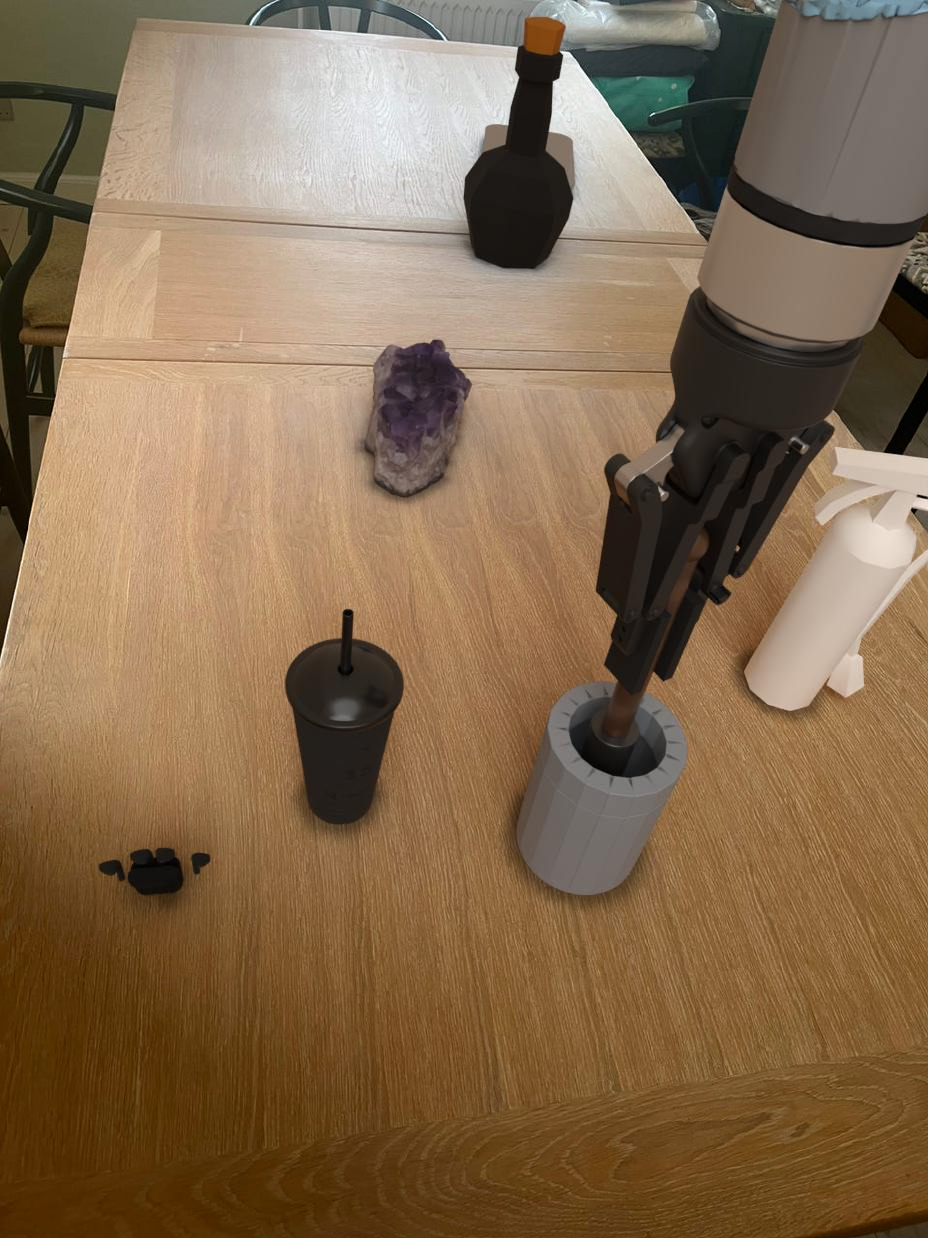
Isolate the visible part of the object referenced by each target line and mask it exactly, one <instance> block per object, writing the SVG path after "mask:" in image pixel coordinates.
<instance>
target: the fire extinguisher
mask: <svg viewBox="0 0 928 1238" xmlns="http://www.w3.org/2000/svg"><path fill="white" fill-rule="evenodd" d="M828 460H829V466H830V472H831V475H833V476H837V477H842V478H845V479H849V480H847V481H845V482H843V483H841V484H838V485H836V486H834V487H832V488H829V490H828V491H827V492H826V493H825V494H823V495H822V497H820V498H819V499H818V501H816V502H815V503H814V505H813V507H814V518H815V519H816V520H817V522H818V523H819V524H820V526H821V527H822V526H824V525H826V524H827V523H828V521H830V520H831V519H832V518H833V517H834V519H833V521H832V523H831V524H830V526H829V527H828V529H827V531H826V532H825V534H824V536H823V538H822V539H821V541H820V542H819V544H818V546H817V547H816V549H815V551H814V552H813V554H812V556H811V557H810V559H809V561H808V562H807V564H806V566H805V568H804V569H803V571H802V573H801V574H800V576H799V577H798V579H797V581H796V583H795V584H794V586H793V587H792V589H791V591H790V593H789V594H788V596H787V598H786V599H785V601H784V603H783V604H782V606H781V607H780V609H779V611H778V612H777V614H776V616H775V618H774V619H773V621H772V622H771V624H770V626H769V628H768V629H767V631H766V632H765V634H764V635H763V637H762V639H761V641H760V642H759V644H758V645H757V647H756V649H755V651H754V652H753V654H752V656H751V658H750V659H749V661H748V662H747V664H746V667H745V669H744V670H743V673H744V677H745V679H746V682H747V685H748V687H749V690H750V691H751V692H752V693H753V694H755V695H756V697H758V698H759V699H760V700H761V701H763V702H764V703H765V704H766V705H768V706H771V707H774V708H777V709H781V710H785V711H788V712H792V711H796V710H799V709H802V708H803V709H804V708H807V707H809V706H810V704H811V703H812V701H814V699H815V697H816V696H817V695H818V694H819V692H820V690H822V688H823V686H824V685H825V684H826V686H827V687H829V688H830V689H832V690H833V691H834V692H836V693H838V694H839V695H840V696H842V697H843V698H845V699H847V698H848V697H850V696H851V695H853V694H854V693H856V692H857V691H859V690H861V689H862V688H864V687H865V682H864V681H865V677H864V676H865V675H864V657H863V656H861V655H860V654H859V651H860V646H861V643H862V639H863V637H864V636H865V635H866V634H867V633H868V631H869V630H870V629H871V628H872V627H873V625H874V624H875V623H876V622H877V620H878V619H879V618H880V617H881V615H883V613H884V612H885V611H886V609H887V608H889V606H890V605H891V603H892V602H893V601H894V600H895V599H896V598H897V597H898V595H899V594H900V593H901V591H902V590H903V589H904V588H905V587H906V585H907V584H908V583H910V581H911V580H912V579H913V577H914V576H915V575H917V573H918V572H920V571H921V570H922V569H923V568H924V567H925V566H927V564H928V548H927V549H926V550H925V551H923V552H922V553H921V554H920V555H919V556H917V558H915V560H914V561H913V562H912V560H913V557H914V556H915V552H916V549H917V537H918V536H917V534H915V533H916V532H915V531H914V529H913V528H912V526H911V525H910V523H909V521H908V520H907V519H908V517H909V515H910V513H911V510H912V509H917V510H920V511H925V512H928V499H927V498H922V497H919V496H923V497H928V458H925V457H919V456H910V455H903V454H896V453H895V454H894V453H888V452H887V453H886V452H880V451H872V450H871V451H870V450H863V449H855V448H849V447H840V446H834V448H833V450H832V451H831V453H830V454H829V456H828ZM878 495H881V496H880V497H879V498H878V500H877V501H876V502H875V503H870V502H865V503H863V502H862V501H863V500H865V499H867V498H872V497H874V496H875V497H876V496H878ZM918 495H919V496H918ZM859 502H862V503H859ZM856 503H859V504H856Z"/></svg>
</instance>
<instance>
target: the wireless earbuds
mask: <svg viewBox="0 0 928 1238" xmlns="http://www.w3.org/2000/svg"><path fill="white" fill-rule="evenodd" d="M154 855H155V856H154ZM129 859H130V861H131V862H132V864H131V866H130V869H129V871H128V872H127V877H126V875H125V871H124V867H123V864H122V862H121V860H119V859H111V860H106V861H102V862H101V863H99V864H98V870H99V872H101V873H102V874H103V875H106V876H110V877H111V876H114V875H117V879H118V881H119V882H121V883H122V882H125V880H126V878H127V882H128V884H129V885H130V886H131V887H132V888H134V889H135V891H136V892H137V893H138V894H139V895H141V896H153V895H163V894H173V893H176V892H178V891H179V890H181V889H182V887H183V885H184V882H185V881H184V874H183V868H182V863H181V860H180V859H179V858H178V857H177V856H176V852H175V849H173V848H170V847H157V848H156V849H155V851H154V854H153V851H152V850H151V849H149V848H143V849H137V850H134V851H131V852H130V854H129ZM190 860H191V865H192V866H191V867H192V872H193V874H194V875H195V876H198V875H200V873H201V868H203V867H205V866H207V865H208V864H209V863H211V854H210V853H205V852H194V853H192V854H191V857H190Z"/></svg>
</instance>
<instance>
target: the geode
mask: <svg viewBox="0 0 928 1238" xmlns="http://www.w3.org/2000/svg"><path fill="white" fill-rule="evenodd" d="M446 349H447V348H446V344H445V342H444V341H443V340H442V339H439V338H438V339H432V340H431V341H430V342H426V341H425V342H424V341H423V342H417V343H415V344H412V345H410V346H407V347H404V348H403V347H401V346H398V345H396V344H388V345H387V346H386V348H384V349H383V351H381V353H380V355H379V356H378V357H377V358H376V361H374V362H373V367H372V372H373V385H372V391H373V396H372V399H373V405H372V410H371V413H370V415H369V416H370V417H369V425H368V429H367V434H366V437H365V439H364V449H365V450H366V451H368V452H369V453H370V454H372V455H373V457H374V463H373V478H374V483H375V484H376V485H378V486H379V487H381V488H382V489H384V490H385V491H386V492H388V493H390V494H391V495H395V496H396V495H397V496H399V497H401V498H408V497H410V496H414V495H417V494H418V493H421V491H424V490H426V489H428V488H429V487H431V485H433V484H436V483H437V482H438V481H440V480H441V479H442V478H443V477H444V475H445V472H446V468H447V466H448V464H449V462H450V455H451V450H452V447H453V445H454V444H456V439H457V431H458V428H459V422H460V421H461V420H462V418H463V415H464V408H465V402H466V401H467V399H468V398H469V394H470V391H471V389H472V386H473V383H472V381H471V380H470V378H467V376H466V375H465V373H464V372H463V371H462V370H461V369H460V368H459V367H456V366H455V364H454V363H453V361H452V359H451V358H450V356H451V354H450V352H449V351H446Z"/></svg>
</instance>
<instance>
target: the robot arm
mask: <svg viewBox="0 0 928 1238" xmlns="http://www.w3.org/2000/svg"><path fill="white" fill-rule="evenodd" d="M722 194H723V195H722V197H721V201H720V204H719V207H718V211H717V214H716V216H715V220H714V223H713V227H712V230H711V232H710V236H709V239H708V242H707V245H706V247H705V252H704V254H703V257H702V260H701V264H700V267H699V270H698V274H697V281H698V284H699V286H698V287H696V288H695V289H694V290H693V291H692V292H691V293H690V295H689V297H688V300H687V303H686V305H685V306H686V307H685V310H684V313H683V316H682V319H681V322H680V325H679V329H678V331H677V335H676V339H675V341H674V345H673V349H672V350H671V354H670V358H669V359H670V360H669V369H670V373H671V378H672V384H673V390H674V401H673V403H672V405H671V407H670V409H669V410H668V412H667V413H666V415H665V416H664V418H663V419H662V420H661V422H660V423H659V425H658V427H657V428H656V429H657V430H656V433H655V443H654V444H653V445H651V446H650V447H648V449H646V450H645V451H644V452H642V453H641V454H639V455H638V456H637V457H636V458H634V459H632V460H631V459H630V458H629V457H627V456H626V455H625V454H624V453H621V452H620V453H616V454H614V455H612V456H611V457H610V458H609V459H608V460H607V462H606V463H605V465H604V468H603V474H604V477H605V480H606V484H607V487H608V489H609V493H610V494H609V499H608V500H609V501H608V506H607V513H606V519H605V525H604V531H603V538H602V545H601V550H600V551H601V552H600V558H599V565H598V570H597V577H596V585H595V593H596V594H597V595H598V596H599V598H601V600H602V601H604V602H605V603H606V604H607V606H608V607H609V608H610V609H611V610H612V611H613V612H614V613H615V614H616V617H615V620H614V624H613V626H612V628H611V632H610V640H611V642H610V645H609V649H608V650H607V651H608V652H607V654H606V657H605V660H604V663H603V666H604V667H605V668H606V669H607V670H608V671H609V672H610V674H611V675H612V677H614V678H615V679H616V680H617V681H619V682H620V684H621V685H622V686H623V687H624V688H625V689H626V690H627V692H628V693H629V694H630V695H631V696H632V695H635V694H637V693H639V692H641V691H642V688H643V686H644V683H645V681H646V678H647V676H648V673H649V671H650V668H651V666H652V663H653V661H654V659H655V656H656V654H657V651H658V649H659V646H660V644H661V641H662V639H663V636H664V634H665V631H666V629H667V626H668V624H669V622H670V619H671V617H672V615H671V614H670V613H669V612H668V611H667V610H666V609H665V606H666V604H667V601H668V599H669V597H670V595H671V593H672V591H673V589H674V587H675V584H676V582H677V580H678V578H679V576H680V574H681V572H682V570H683V567H684V565H685V563H686V561H687V559H688V557H689V555H690V553H691V550H692V548H693V546H694V544H695V542H696V540H697V538H698V536H699V533H700V531H701V529H702V527H704V528H705V530H706V531H707V533H708V536H709V547H708V550H707V552H706V553H705V555H704V556H703V557H702V558H700V559H699V561H698V564H697V566H696V569H695V571H694V574H693V576H692V578H691V581H690V583H689V586H688V588H687V591H686V593H685V596H684V598H683V601H682V603H681V605H680V608H679V610H678V613H677V615H676V618H675V620H674V623H673V625H672V627H671V630H670V632H669V635H668V637H667V640H666V642H665V645H664V647H663V650H662V652H661V654H660V657H659V659H658V662H657V664H656V667H655V669H654V672H653V674H655V675H656V676H657V678H658V679H660V680H661V682H662V683H663V682H666V681H668V680H671V679H673V677H674V675H675V673H676V671H677V669H678V666H679V663H680V661H681V659H682V656H683V654H684V652H685V649H686V648H687V647H686V646H688V643H689V640H690V638H691V636H692V633H693V632H694V628H695V626H696V625H697V623H698V622H699V620H700V618H701V616H702V613H703V611H704V608H705V606H706V604H707V602H708V600H709V601H711V603H713V604H714V605H715V606H721V605H723V604H725V603H726V602H727V601H728V600H729V599H730V597H731V596H732V591H730V590H729V589H728V588H727V587H726V586H725V585H724V583H725V579H726V577H728V576H731V577H732V578H733V579H734V580H737V579H740V578H742V577H743V576H744V575H746V573H747V572H748V571H749V569H750V567H751V565H752V564H753V562H754V560H755V558H756V557H757V556H758V553H759V551H760V550H761V548H762V546H763V544H764V543H765V541H766V540H767V538H768V537H769V535H770V533H771V531H772V529H773V527H774V526H775V524H776V523H777V521H778V519H779V517H780V516H781V514H782V512H783V510H784V509H785V507H786V506H787V503H788V502H789V500H790V498H791V497H792V495H793V493H794V491H795V490H796V488H797V486H798V484H799V483H800V481H801V480H802V478H803V476H804V474H805V472H806V470H807V469H808V467H809V466H810V464H811V463H812V462H813V461H814V459H815V458H816V457H817V456H818V455H819V454H820V452H821V451H822V450H823V448H824V447H825V446H826V445H827V444H828V443H829V441H830V440H831V438H832V437H833V436H834V433H835V430H836V428H835V426H834V425H833V424H831V423H829V421H827V420H825V419H827V418H828V417H829V416H830V415H831V414H832V413H833V411H834V410H835V408H836V406H837V403H838V401H839V399H840V397H841V395H842V393H843V391H844V389H845V387H846V385H847V383H848V381H849V378H850V376H851V374H852V372H853V371H854V368H855V366H856V364H857V361H858V359H859V357H860V355H861V353H862V352H863V349H864V344H865V343H864V337H863V336H865V335H866V334H868V333H869V332H871V331H872V330H873V329H874V327H875V326H876V324H877V322H878V320H879V319H880V318H879V317H880V316H881V313H882V311H883V309H884V306H885V304H886V302H887V300H888V298H889V296H890V293H891V292H892V289H893V287H894V285H895V283H896V280H897V278H898V275H899V273H900V271H901V270H902V267H903V265H904V263H905V260H906V259H907V257H908V253H909V252H910V250H911V247H912V245H913V243H914V240H915V238H916V236H917V235H918V234H919V232H920V230H921V228H922V225H923V224H924V222H925V220H926V218H927V215H928V0H781V1H780V3H779V8H778V11H777V15H776V18H775V20H774V25H773V28H772V32H771V35H770V39H769V42H768V45H767V49H766V52H765V54H764V58H763V62H762V66H761V69H760V72H759V75H758V79H757V82H756V85H755V88H754V91H753V95H752V98H751V101H750V105H749V108H748V111H747V114H746V118H745V121H744V124H743V128H742V131H741V134H740V137H739V141H738V144H737V147H736V151H735V154H734V159H733V160H732V164H731V166H730V170H729V172H728V176H727V179H726V186H725V189H724V191H723V193H722ZM737 547H738V548H739V549H738V550H737Z"/></svg>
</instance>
